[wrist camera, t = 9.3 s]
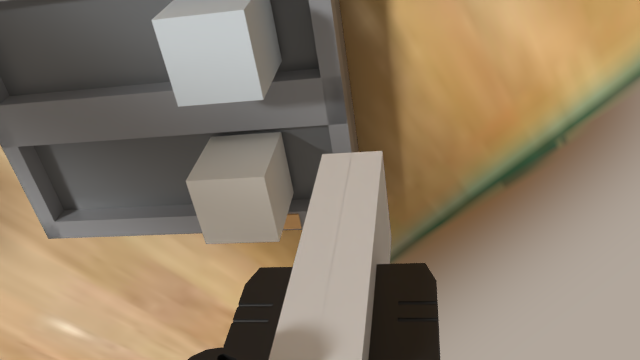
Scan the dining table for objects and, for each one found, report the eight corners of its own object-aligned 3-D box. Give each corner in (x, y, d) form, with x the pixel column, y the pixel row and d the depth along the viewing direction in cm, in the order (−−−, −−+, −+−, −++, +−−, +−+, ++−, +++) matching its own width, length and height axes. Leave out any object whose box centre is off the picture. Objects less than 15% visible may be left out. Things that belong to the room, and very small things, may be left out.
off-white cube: (227, 195, 34) (206, 244, 31) (211, 136, 32) (185, 181, 29) (293, 192, 34) (279, 241, 30) (281, 131, 32) (264, 176, 28)
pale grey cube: (206, 67, 30) (178, 106, 26) (185, -11, 28) (151, 19, 24) (282, 61, 29) (263, 99, 26) (266, -21, 27) (243, 9, 24)
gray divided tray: (69, 213, 39) (47, 239, 37) (-46, -31, 31) (-84, -16, 28) (365, 199, 36) (361, 228, 33) (328, -83, 27) (320, -71, 25)
